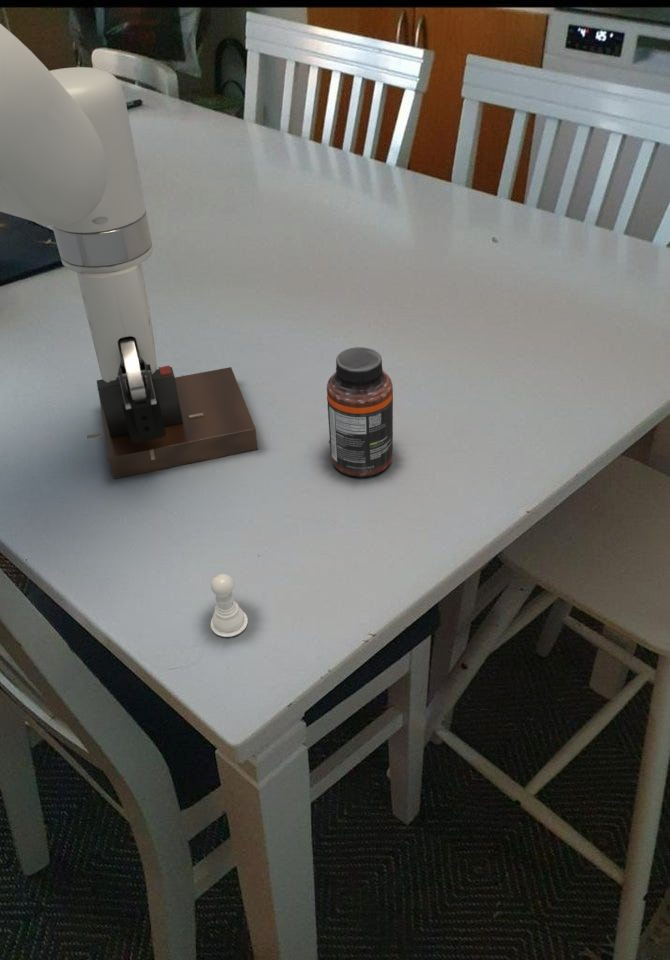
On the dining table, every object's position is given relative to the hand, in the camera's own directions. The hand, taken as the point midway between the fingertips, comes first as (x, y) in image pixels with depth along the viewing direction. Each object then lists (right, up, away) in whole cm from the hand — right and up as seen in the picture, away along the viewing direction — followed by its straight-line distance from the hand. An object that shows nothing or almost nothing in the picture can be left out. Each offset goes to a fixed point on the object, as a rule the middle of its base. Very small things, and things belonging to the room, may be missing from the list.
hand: (143, 413), depth 78 cm
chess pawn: (+10, -18, -15) cm, 26 cm away
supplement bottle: (+21, -5, 0) cm, 21 cm away
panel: (+2, -2, +4) cm, 5 cm away
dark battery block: (0, -1, +1) cm, 1 cm away
